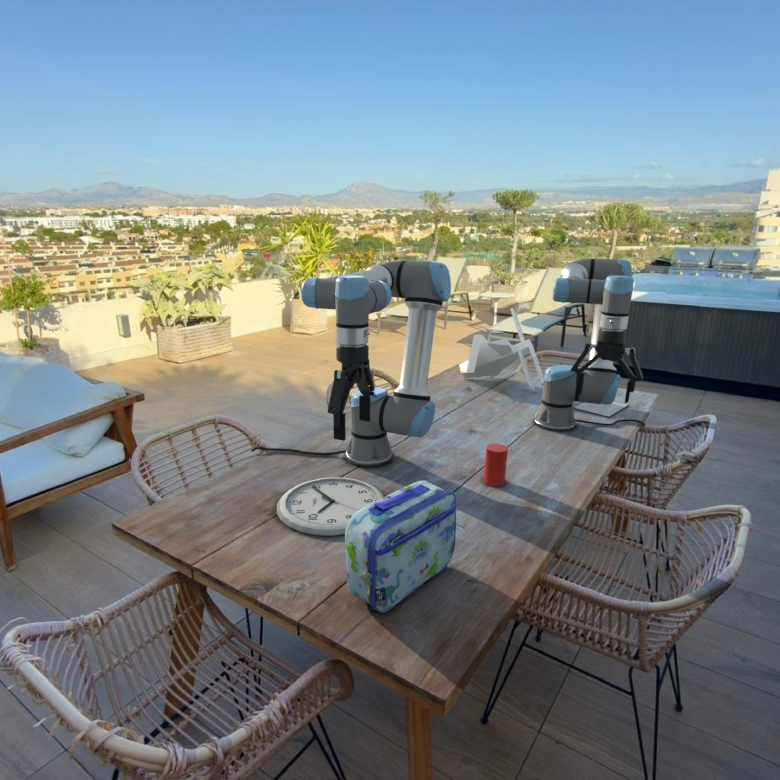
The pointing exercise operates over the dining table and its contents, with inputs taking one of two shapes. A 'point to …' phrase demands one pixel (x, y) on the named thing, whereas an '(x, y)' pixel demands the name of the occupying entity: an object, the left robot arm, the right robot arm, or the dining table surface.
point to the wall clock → (325, 504)
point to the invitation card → (602, 408)
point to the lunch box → (399, 543)
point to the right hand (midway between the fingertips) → (602, 397)
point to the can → (495, 464)
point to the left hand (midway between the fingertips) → (352, 429)
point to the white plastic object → (499, 356)
